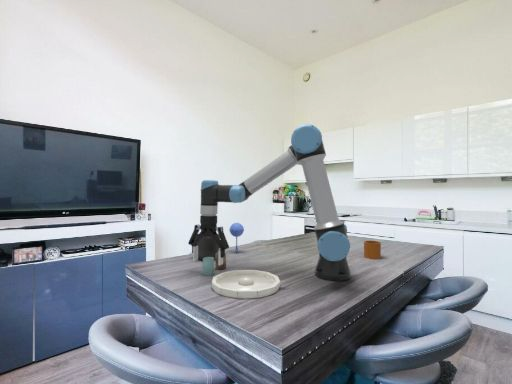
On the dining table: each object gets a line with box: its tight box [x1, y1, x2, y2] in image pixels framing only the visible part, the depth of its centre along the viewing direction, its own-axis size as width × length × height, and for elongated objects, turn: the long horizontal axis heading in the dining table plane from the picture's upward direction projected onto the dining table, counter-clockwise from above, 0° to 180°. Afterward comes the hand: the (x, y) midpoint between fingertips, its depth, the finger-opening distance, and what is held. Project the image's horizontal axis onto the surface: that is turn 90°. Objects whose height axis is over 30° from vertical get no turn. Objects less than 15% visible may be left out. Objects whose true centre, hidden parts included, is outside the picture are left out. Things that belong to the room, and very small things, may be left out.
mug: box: [363, 240, 382, 260], centre depth 157 cm, size 9×12×9 cm
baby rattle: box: [229, 222, 245, 254], centre depth 165 cm, size 9×9×18 cm
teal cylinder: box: [202, 257, 215, 277], centre depth 122 cm, size 5×5×7 cm
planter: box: [196, 233, 220, 261], centre depth 150 cm, size 14×14×13 cm
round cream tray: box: [211, 269, 281, 300], centre depth 107 cm, size 26×26×3 cm
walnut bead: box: [214, 252, 227, 271], centre depth 131 cm, size 5×5×7 cm
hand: (207, 262), depth 122 cm, fingers open, 13 cm apart
